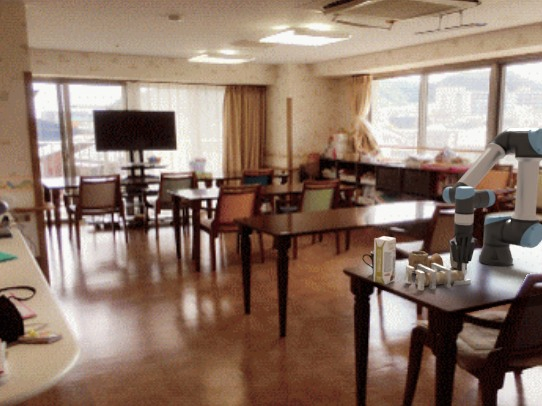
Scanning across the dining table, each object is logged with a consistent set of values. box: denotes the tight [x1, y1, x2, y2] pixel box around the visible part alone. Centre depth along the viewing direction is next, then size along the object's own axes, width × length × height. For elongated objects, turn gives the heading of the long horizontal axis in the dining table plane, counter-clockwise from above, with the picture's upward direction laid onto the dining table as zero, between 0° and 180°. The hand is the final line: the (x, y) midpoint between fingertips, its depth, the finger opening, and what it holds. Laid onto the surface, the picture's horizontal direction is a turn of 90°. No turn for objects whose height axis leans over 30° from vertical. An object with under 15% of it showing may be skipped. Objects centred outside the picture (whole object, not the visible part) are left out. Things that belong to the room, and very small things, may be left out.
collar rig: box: [404, 263, 472, 291], centre depth 206 cm, size 25×12×7 cm, turn 106°
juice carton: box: [373, 235, 397, 285], centre depth 210 cm, size 8×9×19 cm
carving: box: [449, 243, 457, 269], centre depth 230 cm, size 6×8×12 cm
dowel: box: [415, 270, 464, 287], centre depth 207 cm, size 20×5×5 cm, turn 106°
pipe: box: [407, 250, 445, 274], centre depth 223 cm, size 9×16×10 cm, turn 109°
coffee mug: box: [362, 250, 374, 275], centre depth 223 cm, size 12×9×10 cm
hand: (461, 277), depth 210 cm, fingers closed
